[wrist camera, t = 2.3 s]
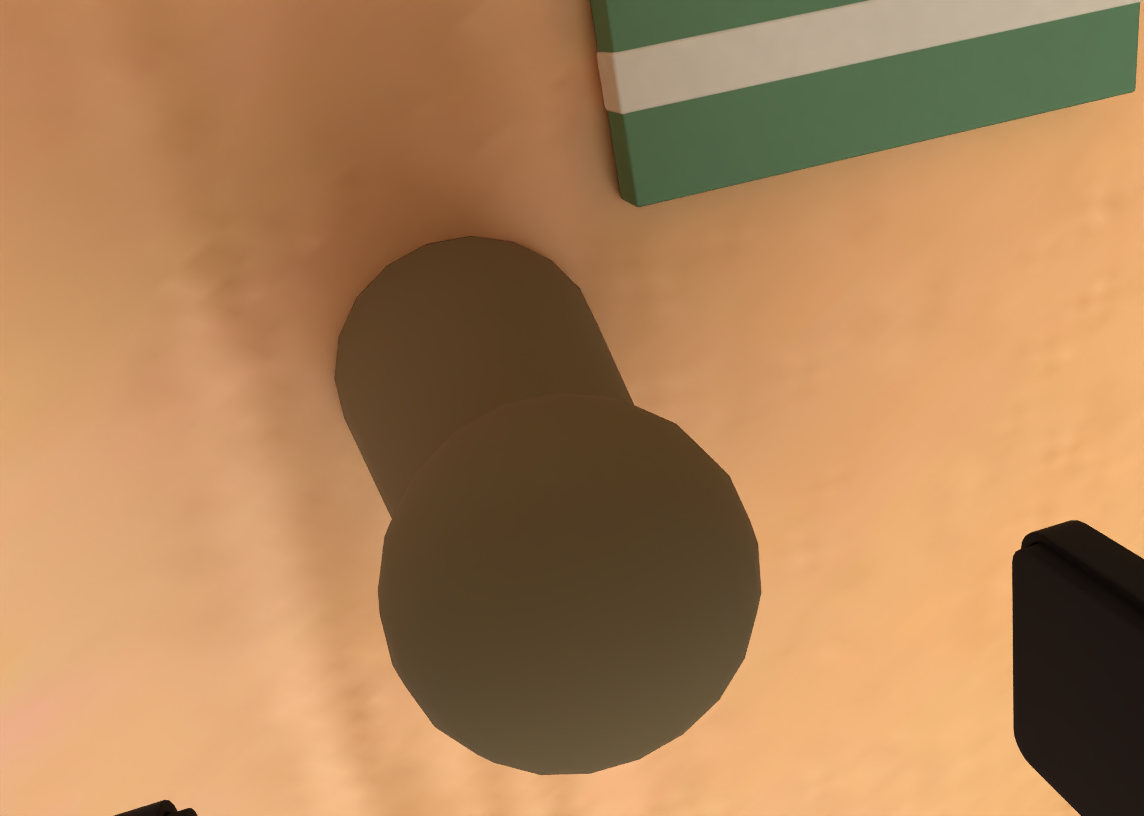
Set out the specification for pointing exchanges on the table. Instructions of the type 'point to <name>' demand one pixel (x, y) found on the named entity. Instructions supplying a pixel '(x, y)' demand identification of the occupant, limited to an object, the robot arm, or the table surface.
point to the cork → (538, 517)
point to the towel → (836, 78)
